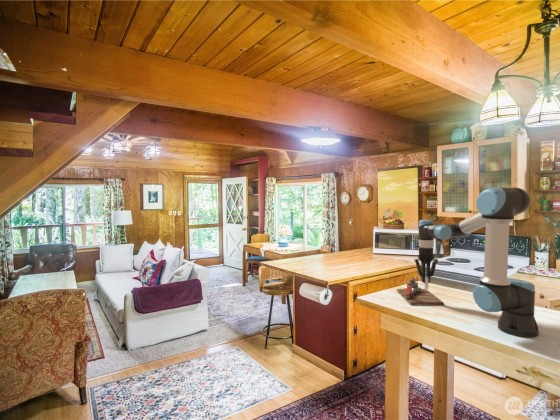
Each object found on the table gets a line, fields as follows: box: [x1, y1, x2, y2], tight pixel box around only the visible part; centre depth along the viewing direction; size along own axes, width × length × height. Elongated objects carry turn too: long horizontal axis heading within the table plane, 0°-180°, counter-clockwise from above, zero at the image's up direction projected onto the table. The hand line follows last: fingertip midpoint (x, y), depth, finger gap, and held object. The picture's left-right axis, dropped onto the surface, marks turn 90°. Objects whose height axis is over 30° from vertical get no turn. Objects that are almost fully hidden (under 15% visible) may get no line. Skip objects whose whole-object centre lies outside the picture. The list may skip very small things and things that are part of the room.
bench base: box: [396, 276, 445, 306], centre depth 196 cm, size 26×18×10 cm
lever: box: [404, 285, 422, 298], centre depth 196 cm, size 20×6×7 cm, turn 141°
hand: (425, 288), depth 188 cm, fingers closed
